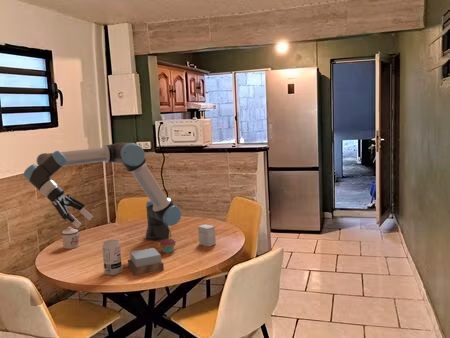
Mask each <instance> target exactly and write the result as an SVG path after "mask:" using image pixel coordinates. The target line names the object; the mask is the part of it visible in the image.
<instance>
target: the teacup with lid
mask: <svg viewBox="0 0 450 338" xmlns="http://www.w3.org/2000/svg"><path fill="white" fill-rule="evenodd" d="M61 236H62V237H61V238H62V246H63V249H67V250H69V249H70V250H71V249H76V248H78V247H80V240H79V239H80V232H79V230H78V228H77V229H76V228H73V227H72V226H68V227H67V228H66V229H64V230H63V231H62V232H61Z"/></svg>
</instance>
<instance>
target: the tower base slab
mask: <svg viewBox="0 0 450 338" xmlns="http://www.w3.org/2000/svg"><path fill="white" fill-rule="evenodd" d="M127 267H128V269H129V270H130V271H131V273H132V274H133V275H134V276H135V277H137V276H141V275H146V274H151V273H156V272H160V271H162V272H163V271H164V263H163V261H162V260H161V263H157V264H152V265H147V266H142V267H136V266H135V265H134V263H133V262H132V261H131V258H129V259H127Z"/></svg>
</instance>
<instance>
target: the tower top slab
mask: <svg viewBox="0 0 450 338" xmlns="http://www.w3.org/2000/svg"><path fill="white" fill-rule="evenodd" d="M129 253H130V255H129V256H130V259H131V261H132V262H133V263H134V265H135V266H136V267H142V266H147V265H152V264H157V263H161V261H162V255H161V253H159V251H158V250H157V249H156V248H155V247H150V248H145V249H140V250H135V251H130V252H129Z"/></svg>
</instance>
